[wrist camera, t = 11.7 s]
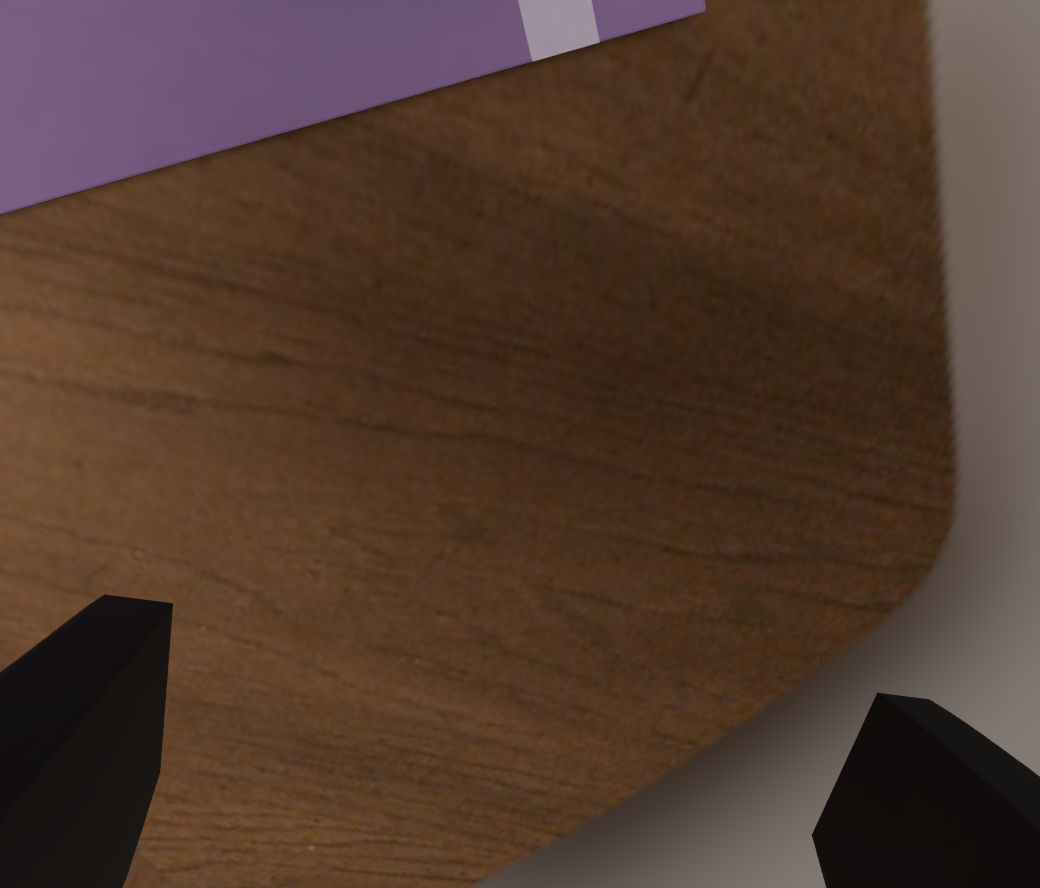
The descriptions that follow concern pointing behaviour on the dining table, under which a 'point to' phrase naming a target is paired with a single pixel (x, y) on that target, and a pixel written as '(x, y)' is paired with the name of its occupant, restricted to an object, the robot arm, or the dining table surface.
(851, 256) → the dining table surface
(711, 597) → the dining table surface
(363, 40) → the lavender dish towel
